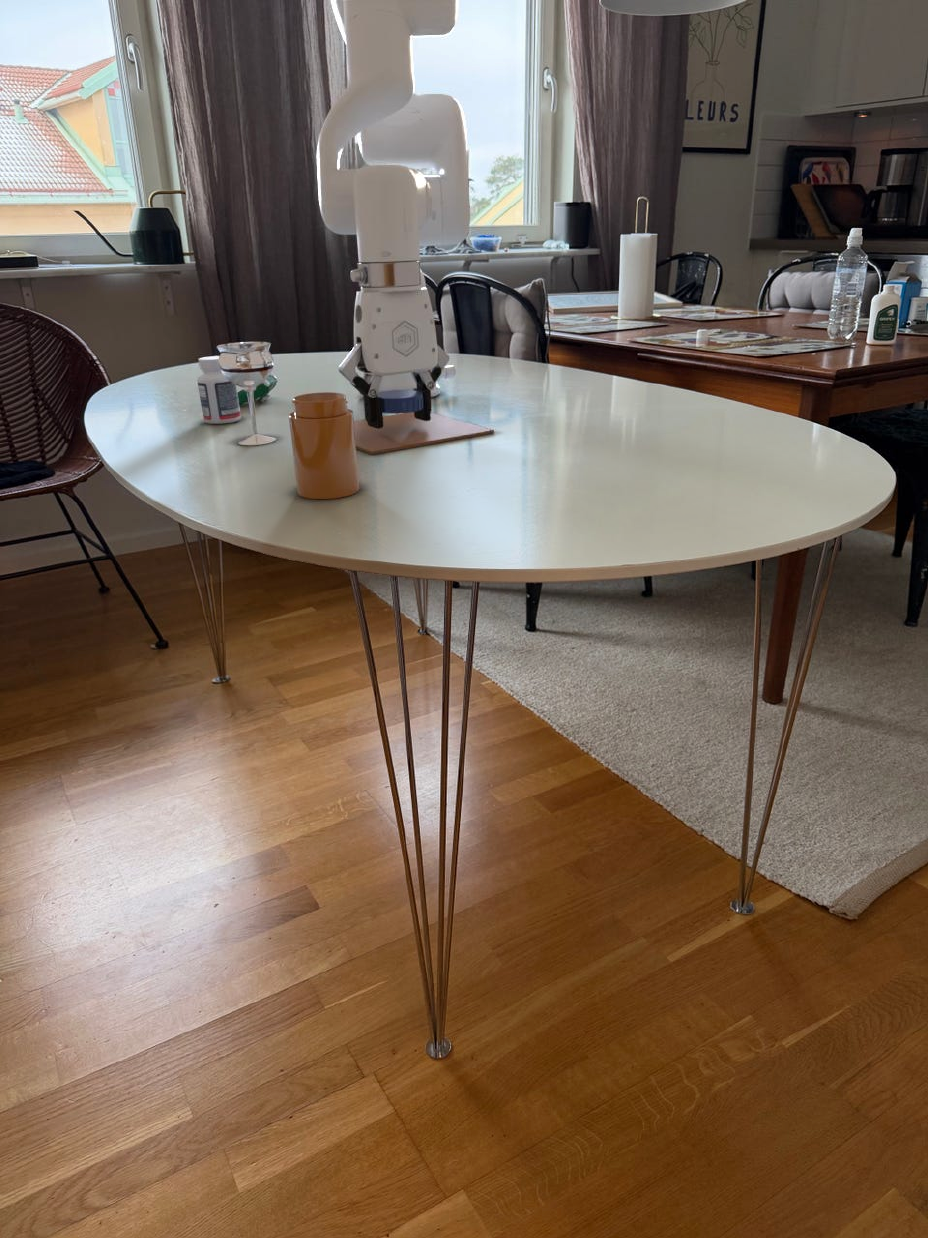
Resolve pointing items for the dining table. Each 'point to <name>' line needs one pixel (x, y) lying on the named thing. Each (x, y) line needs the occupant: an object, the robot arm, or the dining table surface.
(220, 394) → the pill bottle
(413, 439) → the mat
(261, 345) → the wineglass
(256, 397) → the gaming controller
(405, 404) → the lid
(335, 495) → the jar
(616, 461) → the dining table surface
